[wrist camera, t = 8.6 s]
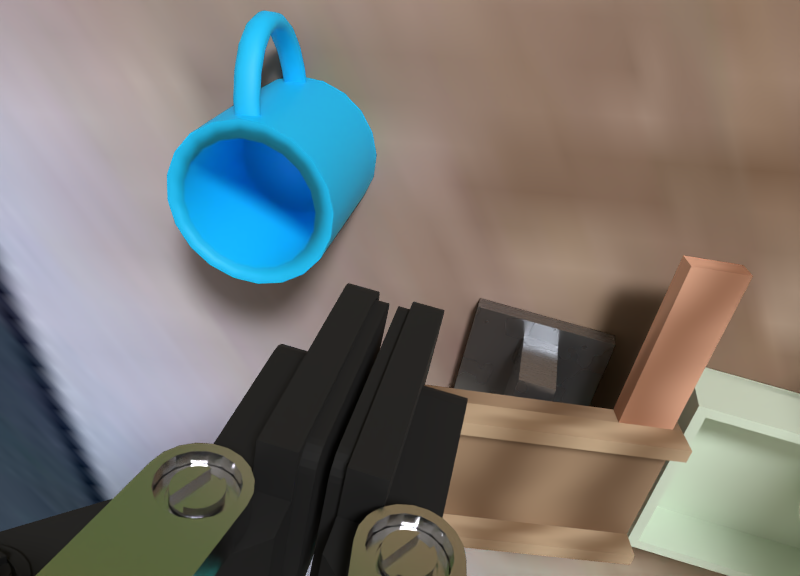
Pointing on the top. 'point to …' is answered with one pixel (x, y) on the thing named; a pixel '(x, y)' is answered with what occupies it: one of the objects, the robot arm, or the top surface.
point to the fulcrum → (532, 356)
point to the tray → (730, 482)
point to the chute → (589, 438)
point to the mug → (271, 166)
